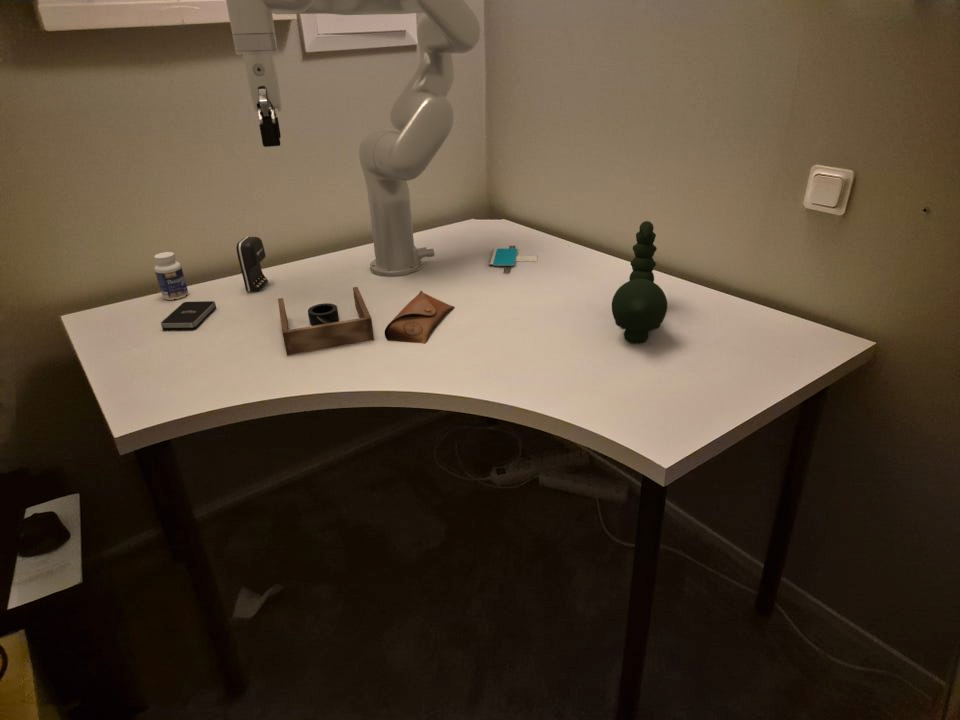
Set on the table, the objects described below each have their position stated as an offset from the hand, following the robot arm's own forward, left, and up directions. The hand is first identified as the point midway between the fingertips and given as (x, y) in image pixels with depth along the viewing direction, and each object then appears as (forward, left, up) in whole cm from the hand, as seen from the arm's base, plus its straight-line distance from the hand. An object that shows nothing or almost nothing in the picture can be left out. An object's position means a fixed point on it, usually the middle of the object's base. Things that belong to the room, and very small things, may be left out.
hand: (272, 142), depth 124 cm
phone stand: (-51, -3, -33) cm, 61 cm away
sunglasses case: (-22, +24, -33) cm, 46 cm away
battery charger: (+9, -9, -33) cm, 35 cm away
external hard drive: (+23, +4, -33) cm, 40 cm away
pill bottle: (+27, -11, -33) cm, 43 cm away
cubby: (-3, +20, -33) cm, 38 cm away
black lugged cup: (-3, +16, -33) cm, 37 cm away
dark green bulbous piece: (-59, +42, -33) cm, 80 cm away
